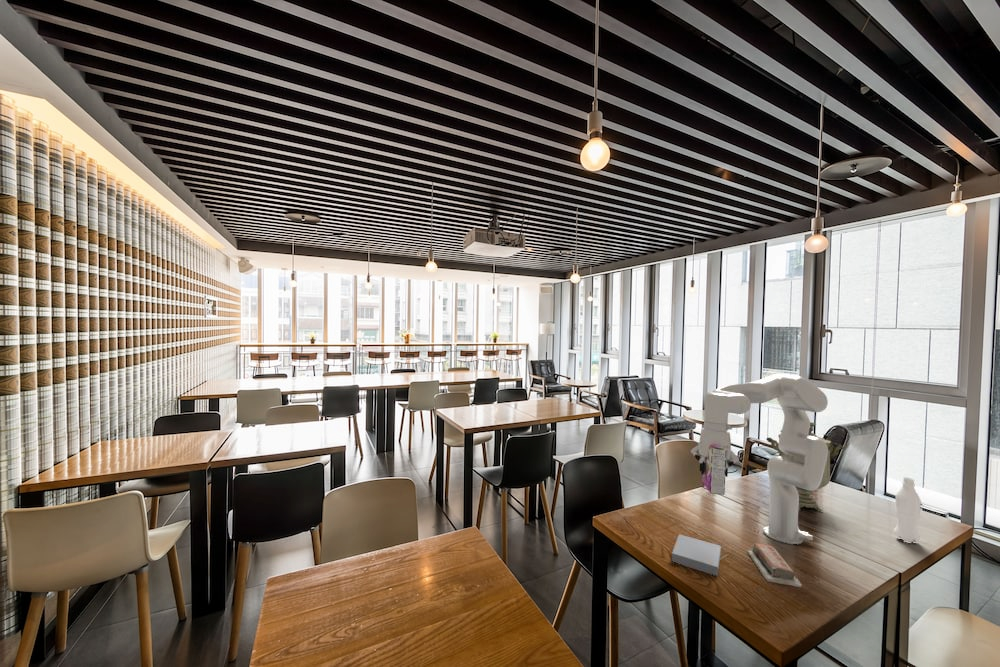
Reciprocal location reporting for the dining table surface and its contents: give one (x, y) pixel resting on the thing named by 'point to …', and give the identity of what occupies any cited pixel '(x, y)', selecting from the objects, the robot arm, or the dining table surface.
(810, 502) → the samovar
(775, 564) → the packaged product
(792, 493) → the robot arm
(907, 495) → the water bottle
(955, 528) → the dining table surface
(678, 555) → the base plinth
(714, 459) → the candy bar box
